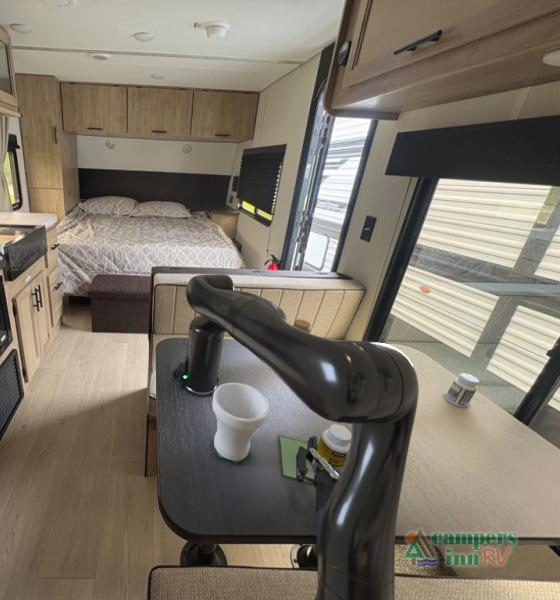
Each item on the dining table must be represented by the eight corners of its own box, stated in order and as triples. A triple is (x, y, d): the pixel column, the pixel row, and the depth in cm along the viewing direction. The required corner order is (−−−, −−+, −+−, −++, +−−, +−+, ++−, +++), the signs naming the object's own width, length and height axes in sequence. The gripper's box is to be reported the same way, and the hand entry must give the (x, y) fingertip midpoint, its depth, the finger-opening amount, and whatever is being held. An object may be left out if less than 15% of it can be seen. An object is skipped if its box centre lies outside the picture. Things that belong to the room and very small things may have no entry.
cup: (194, 443, 68) (201, 394, 62) (227, 421, 74) (236, 375, 69) (233, 482, 60) (246, 430, 54) (266, 454, 66) (280, 405, 61)
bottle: (280, 356, 102) (290, 317, 95) (298, 358, 101) (309, 319, 95) (284, 367, 96) (295, 326, 90) (303, 369, 96) (315, 328, 89)
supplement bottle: (320, 479, 62) (335, 443, 57) (307, 455, 67) (319, 420, 62) (346, 478, 62) (363, 443, 58) (331, 454, 67) (345, 420, 63)
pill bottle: (466, 401, 86) (481, 377, 83) (466, 409, 83) (482, 385, 79) (445, 392, 89) (458, 369, 86) (444, 400, 86) (458, 377, 82)
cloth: (283, 475, 62) (283, 474, 62) (279, 437, 71) (279, 436, 71) (381, 503, 58) (382, 502, 58) (364, 458, 67) (365, 457, 67)
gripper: (408, 536, 42) (386, 448, 56) (299, 489, 47) (303, 419, 61) (389, 566, 45) (372, 475, 59) (288, 518, 51) (294, 446, 64)
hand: (337, 447), depth 60 cm, fingers open, 8 cm apart
